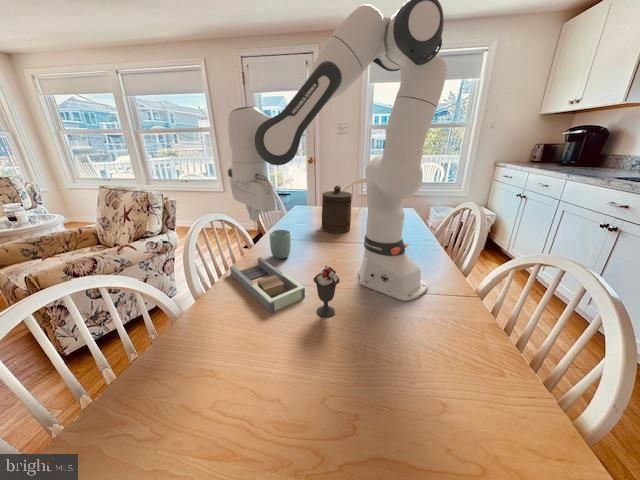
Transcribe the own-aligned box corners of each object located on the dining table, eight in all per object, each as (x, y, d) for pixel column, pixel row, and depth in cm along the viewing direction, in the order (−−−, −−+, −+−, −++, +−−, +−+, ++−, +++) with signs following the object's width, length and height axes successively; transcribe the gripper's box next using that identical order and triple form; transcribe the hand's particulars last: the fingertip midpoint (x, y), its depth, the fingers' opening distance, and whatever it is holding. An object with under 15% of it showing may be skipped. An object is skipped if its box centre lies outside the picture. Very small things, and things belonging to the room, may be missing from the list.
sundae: (320, 323, 65) (321, 270, 59) (309, 308, 70) (308, 259, 65) (342, 315, 67) (345, 265, 62) (330, 301, 73) (331, 254, 67)
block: (284, 295, 76) (284, 283, 75) (265, 301, 73) (264, 289, 72) (276, 286, 81) (276, 275, 80) (258, 291, 78) (257, 280, 77)
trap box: (304, 297, 75) (304, 287, 74) (270, 313, 68) (269, 302, 67) (261, 264, 94) (260, 256, 93) (231, 274, 87) (229, 265, 86)
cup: (287, 262, 96) (286, 237, 92) (268, 260, 98) (266, 235, 94) (293, 253, 103) (292, 230, 100) (275, 251, 105) (273, 228, 101)
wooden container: (352, 225, 137) (354, 184, 129) (347, 234, 124) (349, 189, 116) (325, 223, 141) (326, 182, 132) (318, 231, 127) (318, 187, 119)
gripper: (279, 175, 65) (282, 226, 70) (244, 168, 80) (249, 211, 85) (256, 177, 62) (261, 231, 67) (224, 170, 76) (230, 214, 81)
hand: (254, 220), depth 76 cm, fingers closed
